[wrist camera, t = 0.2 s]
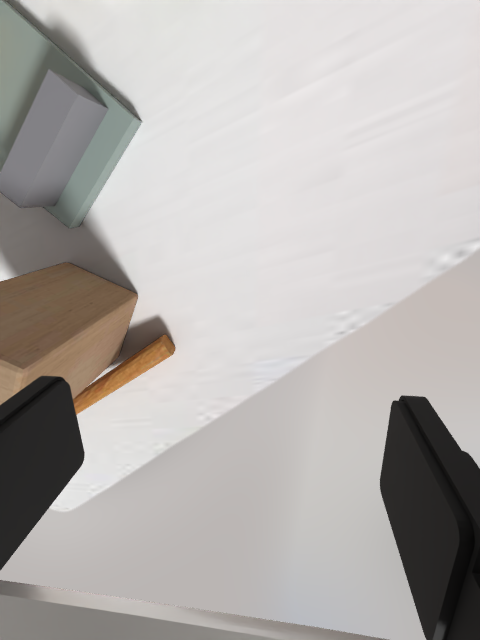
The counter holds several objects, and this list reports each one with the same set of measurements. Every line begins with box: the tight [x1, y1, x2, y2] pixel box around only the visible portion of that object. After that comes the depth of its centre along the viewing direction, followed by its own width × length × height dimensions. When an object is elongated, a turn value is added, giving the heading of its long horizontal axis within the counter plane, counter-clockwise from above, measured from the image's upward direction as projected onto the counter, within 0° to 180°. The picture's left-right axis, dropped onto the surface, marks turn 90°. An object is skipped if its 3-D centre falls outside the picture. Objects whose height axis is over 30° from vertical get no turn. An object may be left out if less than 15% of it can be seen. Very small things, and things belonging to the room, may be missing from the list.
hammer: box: [73, 335, 175, 414], centre depth 45 cm, size 14×2×30 cm
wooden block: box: [0, 262, 138, 405], centre depth 35 cm, size 10×10×20 cm
